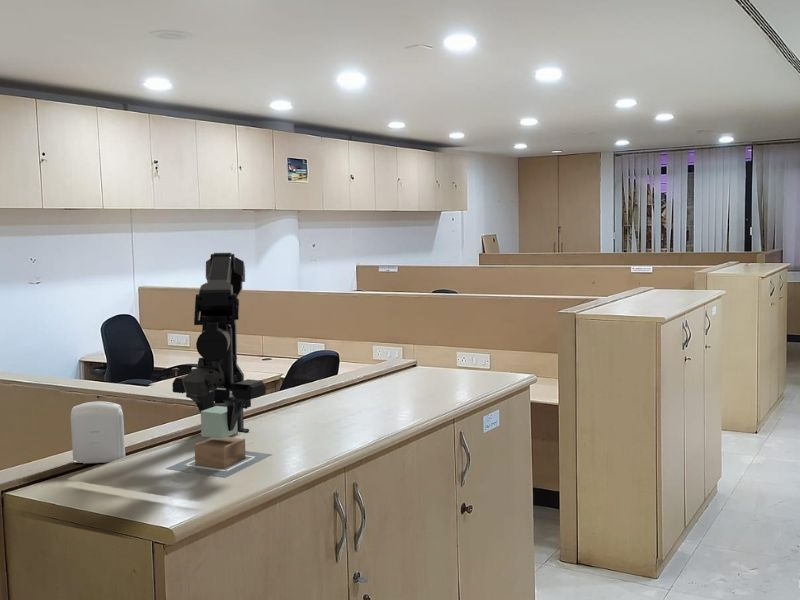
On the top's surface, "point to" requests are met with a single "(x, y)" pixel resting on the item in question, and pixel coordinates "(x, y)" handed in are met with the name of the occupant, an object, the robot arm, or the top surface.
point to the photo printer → (97, 432)
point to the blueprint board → (219, 472)
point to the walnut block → (220, 452)
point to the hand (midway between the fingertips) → (219, 429)
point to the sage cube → (216, 423)
